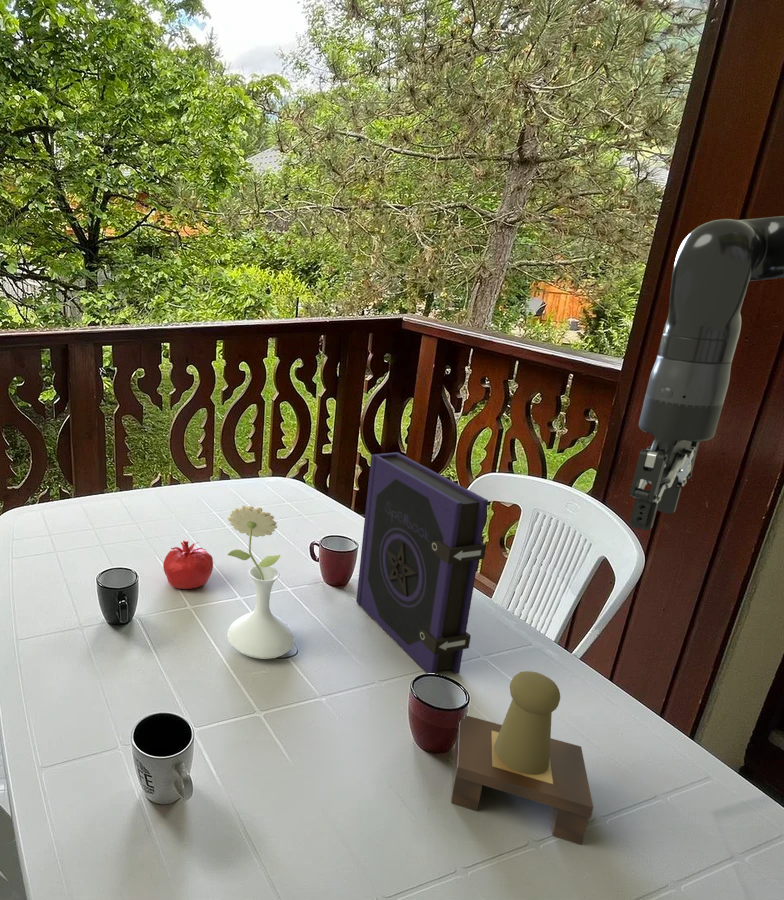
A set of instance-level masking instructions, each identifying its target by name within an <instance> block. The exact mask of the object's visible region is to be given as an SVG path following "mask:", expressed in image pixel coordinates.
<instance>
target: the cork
mask: <svg viewBox="0 0 784 900" xmlns="http://www.w3.org/2000/svg"><path fill="white" fill-rule="evenodd" d="M509 692H510V697H511V698H512V699H511V701H510V704H509V707H508V709H507V712H506V714H505V717H504V720H503V722H502V724H501V725H502V727H501V729H500V732H499V734H498V737H497V739H496V742H495V745H494V750H495V753H496V755H497V756H498V758H499V759H500V760H501V761H502V762H503V763H504V764H506V765H507V766H509V767H510V768H512V769H514V770H516V771H518V772H521V773H525V774H531V775H538V774H542V773H544V772H545V771H547V770H548V767H549V760H550V738H552V736H551V735H552V717H553V716H552V713H553V712H554V711H556V710H557V708H558V707H559V704H560V701H561V692H560V689H559V687H558V685H557V683H556V681H554V680H552V679H551V678H550V677H548V676H546V675H544V674H543V673H539V672H536V671H531V670H524V671H523V670H522V671H519V672H518V673H516V674H515V675H514V676H513V677H512V679H511V681H510V684H509Z"/></svg>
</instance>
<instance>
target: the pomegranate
mask: <svg viewBox="0 0 784 900" xmlns="http://www.w3.org/2000/svg"><path fill="white" fill-rule="evenodd" d="M189 543H190V541H189V540H187V539H183V540H182V541H180V545H181V547H179V546H175V547H170V549H171V550H170V551H169V552H168V553H167V554H166V556H165V558H164V560H163V565H162V567H163V572H164V574H165V576H166V579H167V583H169V585H170V586H171V587H173V588H175V589H179V590H181V589H182V590H189V589H190V590H191V589H197V588H200V587H203V586H205V585H206V583H208V581H209V579H210V578H211V576H212V573H213V570H214V569H213V568H214V559H213V556H212V555H211V554H210V553H209V552H208V551H207V549H205V548H203V547H195V546H196V545H197V544H200V542H199V541H198V542H194V543H192V544H191V545H190V546H189Z"/></svg>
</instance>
